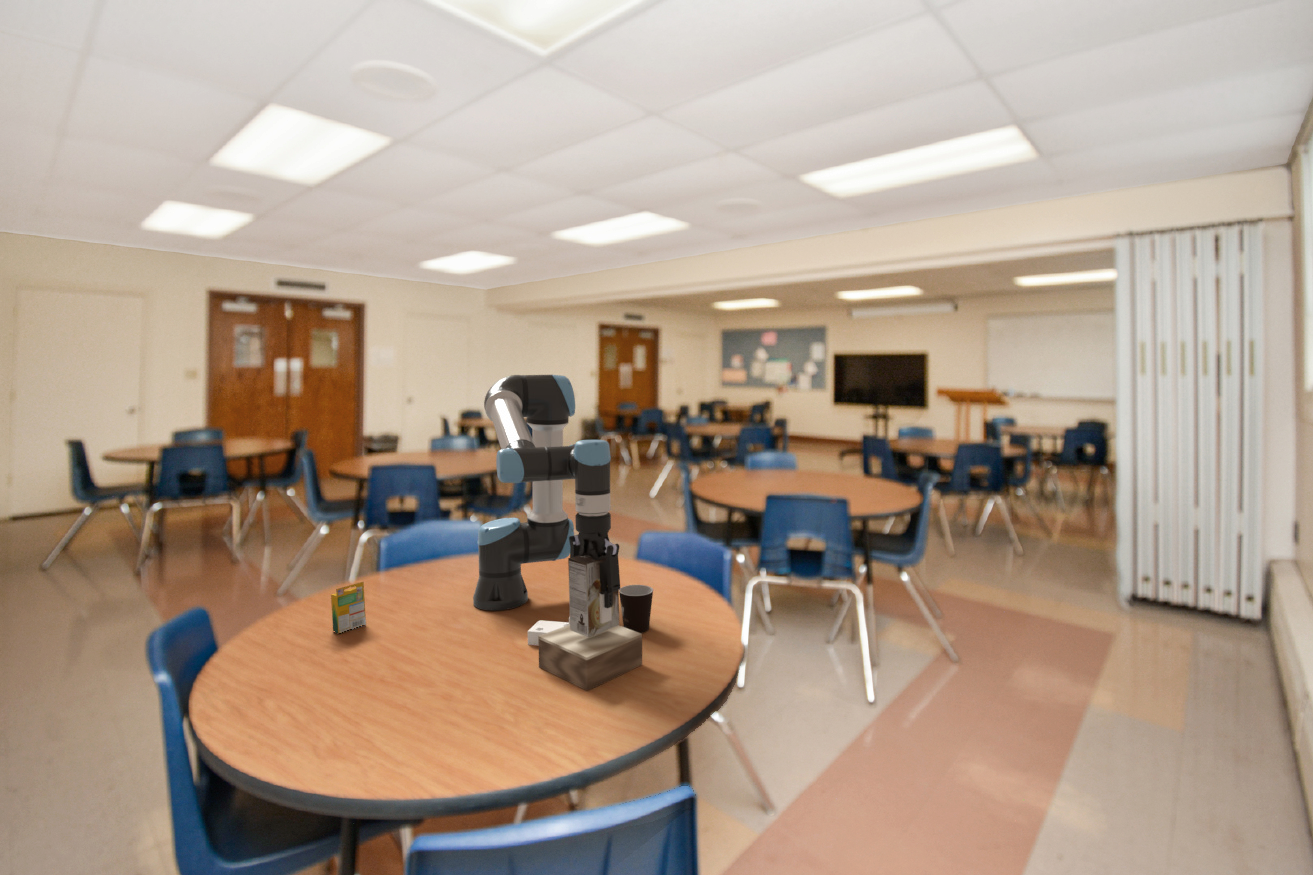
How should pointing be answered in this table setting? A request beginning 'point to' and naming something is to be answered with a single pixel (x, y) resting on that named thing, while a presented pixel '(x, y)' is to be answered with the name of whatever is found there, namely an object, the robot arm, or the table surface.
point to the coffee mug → (636, 607)
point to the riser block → (590, 655)
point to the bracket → (543, 629)
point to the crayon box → (348, 608)
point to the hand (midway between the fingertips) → (594, 617)
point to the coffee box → (588, 597)
